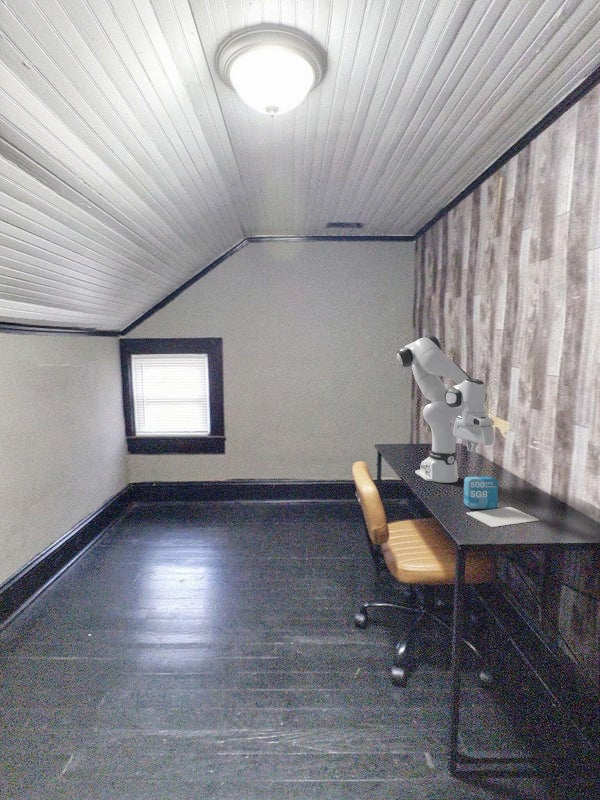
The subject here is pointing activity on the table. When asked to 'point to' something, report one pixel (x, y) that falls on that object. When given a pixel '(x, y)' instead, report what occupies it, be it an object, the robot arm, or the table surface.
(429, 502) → the table surface
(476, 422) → the robot arm
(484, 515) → the mat
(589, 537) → the table surface
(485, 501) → the data package
